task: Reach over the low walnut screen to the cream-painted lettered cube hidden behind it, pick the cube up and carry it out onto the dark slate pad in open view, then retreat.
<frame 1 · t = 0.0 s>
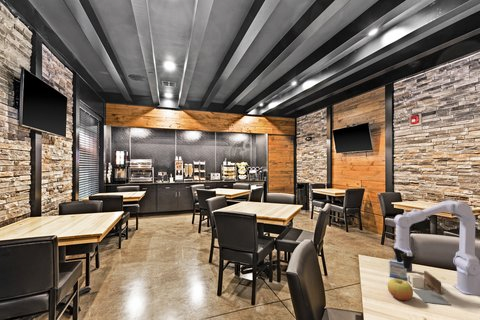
hand: (403, 265, 119), 10 cm above the table, fingers open, 7 cm apart
walnut screen: (432, 287, 116), on the table
medicine box: (397, 277, 128), on the table
letter cube: (415, 285, 119), on the table
flask: (403, 270, 136), on the table
apple: (400, 297, 108), on the table
slate pad: (430, 297, 108), on the table
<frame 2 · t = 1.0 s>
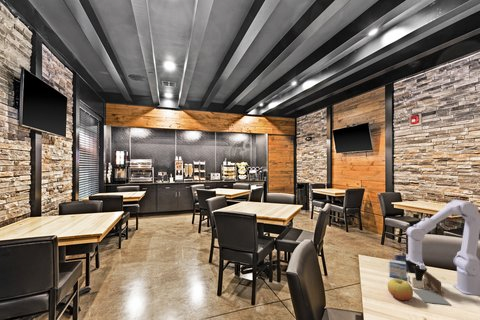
hand: (415, 277, 119), 4 cm above the table, fingers open, 6 cm apart
medicine box: (397, 277, 128), on the table, touching gripper
everything else where it was.
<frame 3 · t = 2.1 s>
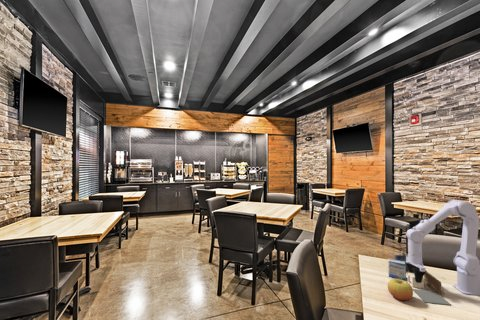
hand: (415, 279, 119), 3 cm above the table, fingers closed on letter cube, 5 cm apart
letter cube: (415, 285, 119), on the table, touching gripper
everything else where it was.
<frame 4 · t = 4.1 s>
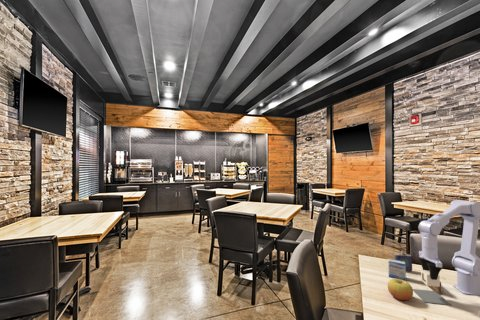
hand: (430, 276, 108), 10 cm above the table, fingers closed on letter cube, 5 cm apart
medicine box: (396, 277, 128), on the table
letter cube: (430, 283, 108), point 6 cm above the table, touching gripper
everything else where it was.
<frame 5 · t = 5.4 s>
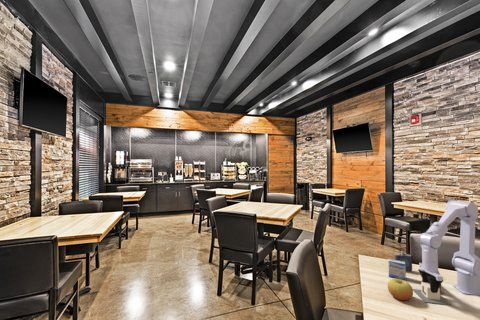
hand: (430, 289, 108), 4 cm above the table, fingers closed on letter cube, 5 cm apart
letter cube: (430, 296, 108), resting on slate pad, touching gripper
everything else where it was.
when the fingers open (4 cm above the table, at t = 6.0 s): letter cube stays where it is, resting on slate pad.
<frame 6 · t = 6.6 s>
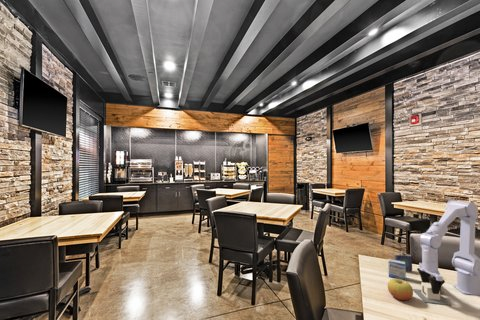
hand: (430, 289, 108), 4 cm above the table, fingers open, 7 cm apart
letter cube: (430, 296, 108), resting on slate pad
everything else where it was.
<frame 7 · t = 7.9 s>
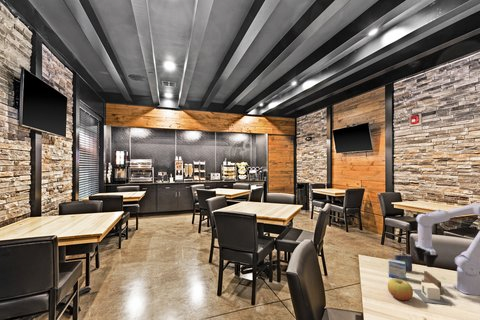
hand: (425, 263, 120), 10 cm above the table, fingers open, 7 cm apart
nothing on the table moved.
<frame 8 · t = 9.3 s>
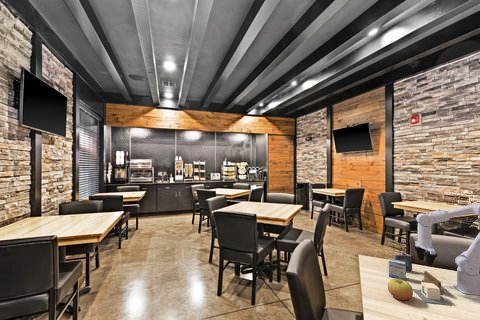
hand: (425, 263, 121), 10 cm above the table, fingers open, 7 cm apart
nothing on the table moved.
at the end: letter cube inside the target area on the slate pad (0.1 cm from its centre), point 0.4 cm above the slate pad's base; letter cube tilted 0°; the gripper is holding nothing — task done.
